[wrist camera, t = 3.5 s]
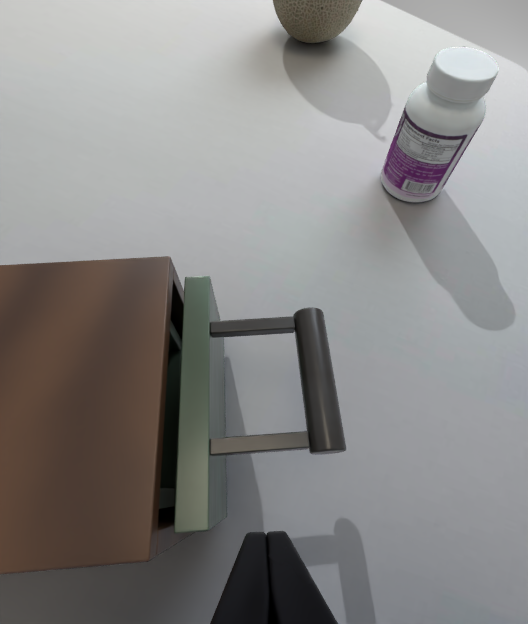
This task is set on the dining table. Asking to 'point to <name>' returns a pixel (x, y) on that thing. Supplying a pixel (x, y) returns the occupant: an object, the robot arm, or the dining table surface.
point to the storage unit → (84, 412)
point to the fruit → (315, 18)
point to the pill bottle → (438, 123)
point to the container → (211, 405)
